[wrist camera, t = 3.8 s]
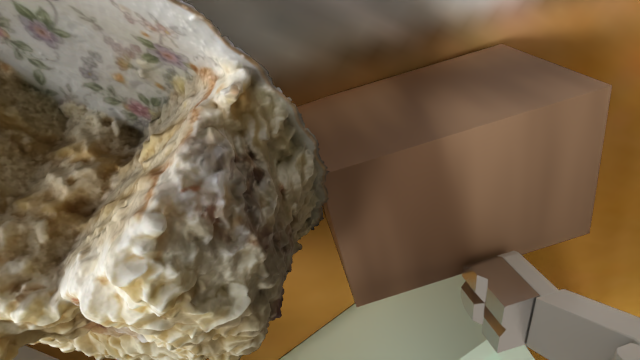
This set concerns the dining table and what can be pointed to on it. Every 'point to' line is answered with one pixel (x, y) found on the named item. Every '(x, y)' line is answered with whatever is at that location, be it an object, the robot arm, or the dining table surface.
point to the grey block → (32, 354)
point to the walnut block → (457, 166)
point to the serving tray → (406, 330)
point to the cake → (144, 183)
